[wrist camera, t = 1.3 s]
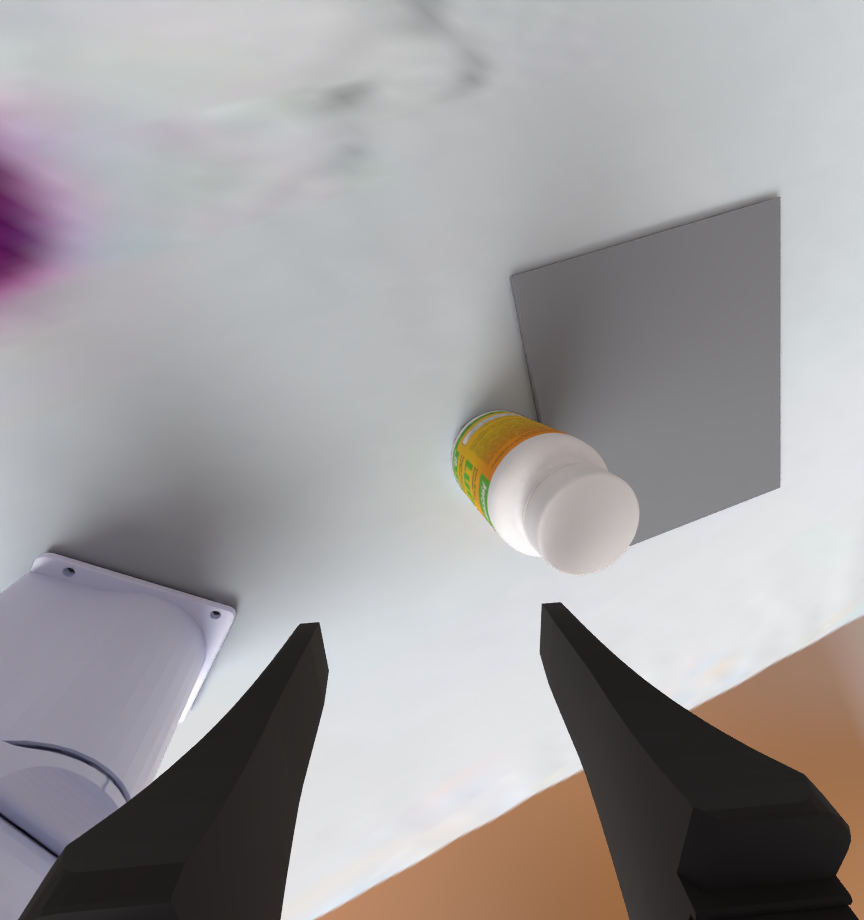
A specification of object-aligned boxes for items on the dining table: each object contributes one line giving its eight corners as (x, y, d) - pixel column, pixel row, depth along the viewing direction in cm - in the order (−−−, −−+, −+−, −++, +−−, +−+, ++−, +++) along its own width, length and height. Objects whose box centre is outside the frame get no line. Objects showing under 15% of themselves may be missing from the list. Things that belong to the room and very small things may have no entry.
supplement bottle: (431, 443, 22) (491, 511, 13) (512, 390, 23) (627, 421, 13) (477, 515, 24) (557, 620, 15) (552, 466, 24) (677, 540, 15)
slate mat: (567, 565, 27) (571, 568, 26) (509, 277, 21) (512, 275, 21) (774, 485, 28) (780, 487, 28) (773, 199, 23) (780, 196, 22)
